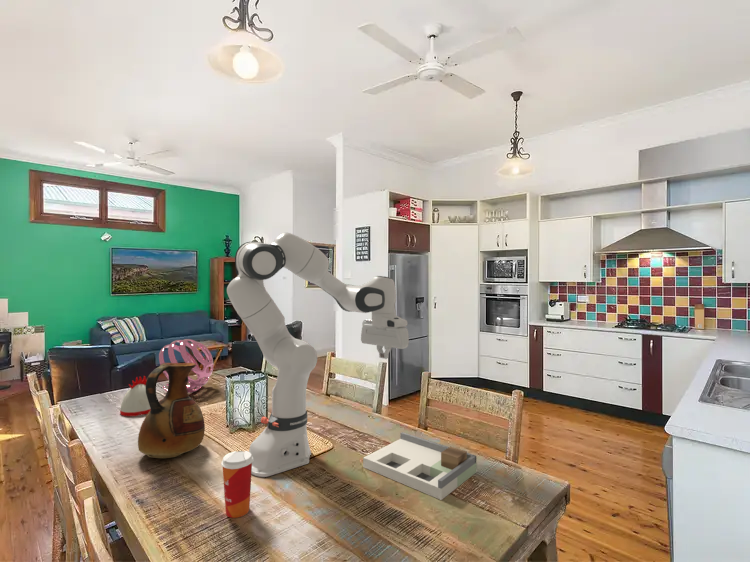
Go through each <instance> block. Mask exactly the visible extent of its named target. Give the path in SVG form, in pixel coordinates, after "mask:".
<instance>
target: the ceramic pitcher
mask: <svg viewBox="0 0 750 562" xmlns="http://www.w3.org/2000/svg"><path fill="white" fill-rule="evenodd" d="M195 366H196V364H195V363H185V362H178V363H171V362H165V363H162V364H161V365H160V364H159V366H157V367H156V368H154V369H153V370H152V371H151V372H150V373H149V374H148V376H147V377H146V379H147V381H146V395H147V399H148V402H149V405H150V408H151V410H150V411H149V413H148V414H146V415H145V417H144V419H143V421H142V424H141V426H140V428H139V431H138V437H137V446H138V447H137V448H138V451H139V452H140V453H142V454H143V455H146V456H148V457H149V458H153V459H154V458H155V459H170V458H171V459H172V458H176V457H179V456H181V455H182V454H184V453H188V452H190V451H193V450H194V449H196V448H198V446H200V445H201V443H202V442H203V441H204V437H205V430H206V429H205V428H206V427H205V425H206V424H205V419H204V415H203V412H202V409H201V407H200V406H199V404H198V402H196V401H195V400H194V399H193V398H192V397H190V395H189V393H188V391H187V385H189V383H188V376H189V373H190V372H192V369H193V368H194V367H195ZM163 371H166V372H167V373H168V377H169V380H168V384H169V385H168V386H167V392H166V393H165V395H164V397H163V398H162V399H160V400H159V399H158V396H157V382H158V379H159V377H160V376H161V374H162V373H164V372H163Z"/></svg>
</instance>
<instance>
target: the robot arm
mask: <svg viewBox="0 0 750 562" xmlns="http://www.w3.org/2000/svg"><path fill="white" fill-rule="evenodd" d="M329 263H330V261H329V258H328V256H326V254H324V252H323V251H321V250H320V249H318V247H316V246H315V245H313V244H312V243H310V242H309V241H307V240H305V239H303V238H302V237H300V236H298V235H296V234H294V233H291V232H283V233H281V234H279V235H278V236H277V237H275V238H274V241H273V242H272V243H270V244H269V243H264V242H261V241H247V242H244V243H243V244H241V245H240V246H238V248H237V250H236V252H235V255H234V264H235V274H236V275H237V276H236V277H235V278H232V280H231V281H230V282H229V284H228V285H227V287H226V294H227V297H228V298H229V300H230V303H231V304H232V306H233V308H234V310H235V312H236V313H237V315H238V316H239V317H240V319H241V321H243V323H244V324H245V326H246V327H247V329H248V330H249V331H250V333H251V335H252V336H253V337H254V339H255V341H256V342H257V344H258V346H259V348H260V350H261V352H262V355H263V358H264V360H266V362H267V363H268V364H269V365H270V366H272V367H275V368H276V369H277V371H278V373H277V378H276V381H275V384H274V386H273V387H272V390H271V413H270V415H269V417H266V416H261V418H260V422H261V423H262V424H264V425H266V427H265V428H264V429H263V431H262V432H260V434H259V435H258V436H257V437H256V438H255V439H253V441H252V442H251V443H250V445H249V449H248V452H250V453H251V455H252V457H253V462H252V472H251V475H252V476H255V477H259V478H265V477H266V478H267V477H270V476H273V475H277V474H280V473H283V472H286V471H289V470H292V469H295V468H298V467H301V466H305V465H307V464H309V463H310V457H311V456H312V452H311V451H312V450H311V447H310V444H309V440H308V439H309V437H308V430H307V423H308V411H307V389H308V388H307V386H308V382H309V377H310V374H311V372H312V371H314V369H315V367H316V365H317V362H318V353H317V350H316V349H315V348H314V347H313V346H312V345H311V343H308V342H307V341H305V340H302V339H299V338H295V337H294V336H293V335H292V334H291V333H290V332H289V330H288V328H287V327H288V326H287V324H286V322H285V321H286V320H285V316H284V314H283V313H282V311H281V310H280V308H279V307H278V306H277V304H276V302H275V301H274V299H273V298H272V297H271V295H270V294H269V293H268V291H267V290H266V288H265V287H266V286H265V283H264V281H265V280H269V279H271V278H273V277H274V276H275V275H276V274H277V273H278V272H279V271H281V270H282V269H283V268H284V269H286V270H288V271H290V272H291V273H292V274H294V275H296V276H297V277H299V278H301V279H303V280H304V281H306V282H309V283H311V284H313V285H316V286H317V287H318V288H320V289H321V290H323V291H324V292H325V293H327V294H328V295H330V296H331V297H332V298H333V299H334V300H335V302H336V303H337V305H338V306H339V307H340V309H342V310H343V311H345V312H355V313H362V314H367V313H371V319H370V318H365V319H364V320H363V321H362V325H361V326H362V327H361V333H360V342H361V343H362V344H367V345H372V346H376V350H377V353H378V357H379V358H380V359H384V360H387V359H388V358H389V353H390V352H391V349H392V348H393V349H399V350H403V349H407V348H408V346H409V343H410V342H409V329H408V328H407V326H408V320H407V319H404V318H402V317H400V316H398V315H397V311H396V307H395V305H396V301H397V299H396V298H397V297H396V296H397V294H396V290H397V289H396V284H395V281H394V279H392V278H391V277H388V276H383V275H375V276H373V278H372V279H370V280H369V281H367V282H366V283H364V284H362V285H354V284H347V283H345V282H342V281H341V280H340V279H339V278H337V277H336V276H334V274H332V273H331V272H330V271H329V267H330V265H329ZM383 349H384V350H383ZM310 455H311V456H310Z"/></svg>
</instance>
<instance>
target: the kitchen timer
mask: <svg viewBox="0 0 750 562" xmlns="http://www.w3.org/2000/svg"><path fill="white" fill-rule="evenodd" d="M131 381H132V385H131V384H130V383H128V386H129V388H128V390H127V391H126V393H125V394H124V396H123V399H122V401H121V404H120V407H119V408H120V409H119V413H120V415H121V416H124V417H137V416H143V415H147V414H148V413H149V411H150V410H151V408H150V405H149V402H148V399H147V395H146V381H147V377H146V376H145V375H143V378H142V376H136V377H135V381H134V379H133V380H131Z"/></svg>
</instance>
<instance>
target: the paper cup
mask: <svg viewBox="0 0 750 562" xmlns="http://www.w3.org/2000/svg"><path fill="white" fill-rule="evenodd" d="M252 462H253V457H252V455H251V453H250V452H249V450H244V451H243V450H240V451H239V450H238V451H236V450H235V451H232V452H229V453H226V454H225V455H224V456H223V457H222V461H221V463H220V465H221V467H222V475H223V476H222V479H223V491H224V492H223V493H224V495H223V496H224V506H225V515H226V516H227V517H228V518H230V519H237V518H238V519H239V518H241V517H244V516H246V515H247V514H248V513H249V511H250V502H251V492H252V491H251V490H252V489H251V488H252V487H251V485H252V474H251V472H252Z"/></svg>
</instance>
